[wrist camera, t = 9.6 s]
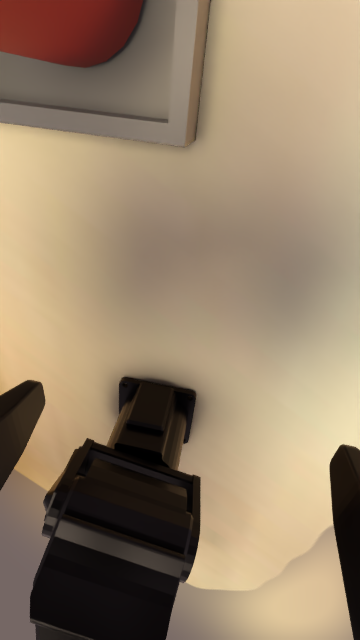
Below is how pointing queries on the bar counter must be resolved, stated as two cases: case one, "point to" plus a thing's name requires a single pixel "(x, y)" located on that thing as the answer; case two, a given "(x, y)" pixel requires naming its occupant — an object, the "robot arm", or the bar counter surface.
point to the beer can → (67, 29)
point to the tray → (119, 82)
